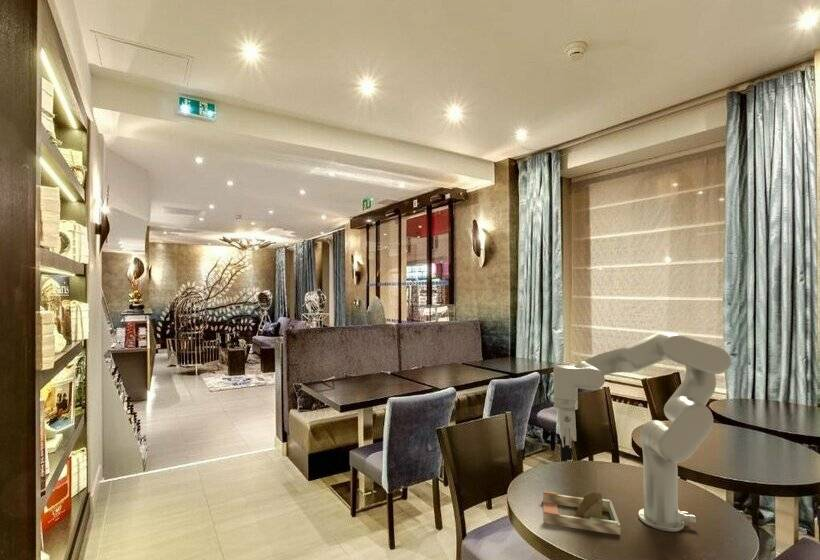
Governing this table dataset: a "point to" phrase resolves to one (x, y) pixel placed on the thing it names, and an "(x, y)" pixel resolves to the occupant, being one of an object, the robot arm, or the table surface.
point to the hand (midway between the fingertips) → (566, 458)
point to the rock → (590, 507)
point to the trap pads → (550, 506)
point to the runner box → (582, 523)
